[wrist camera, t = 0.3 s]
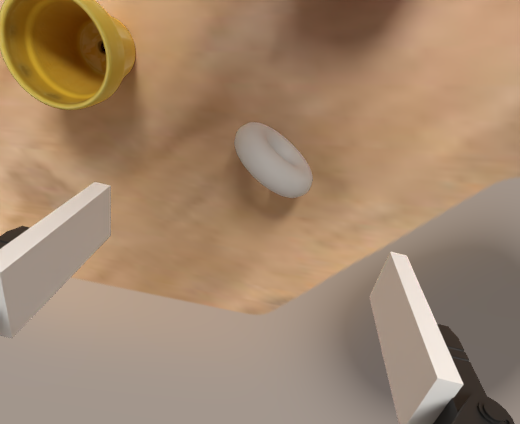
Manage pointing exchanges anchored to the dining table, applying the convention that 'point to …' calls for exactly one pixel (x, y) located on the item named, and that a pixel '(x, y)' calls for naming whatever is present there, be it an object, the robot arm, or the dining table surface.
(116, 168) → the dining table surface
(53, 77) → the plant pot
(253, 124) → the donut
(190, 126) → the dining table surface
